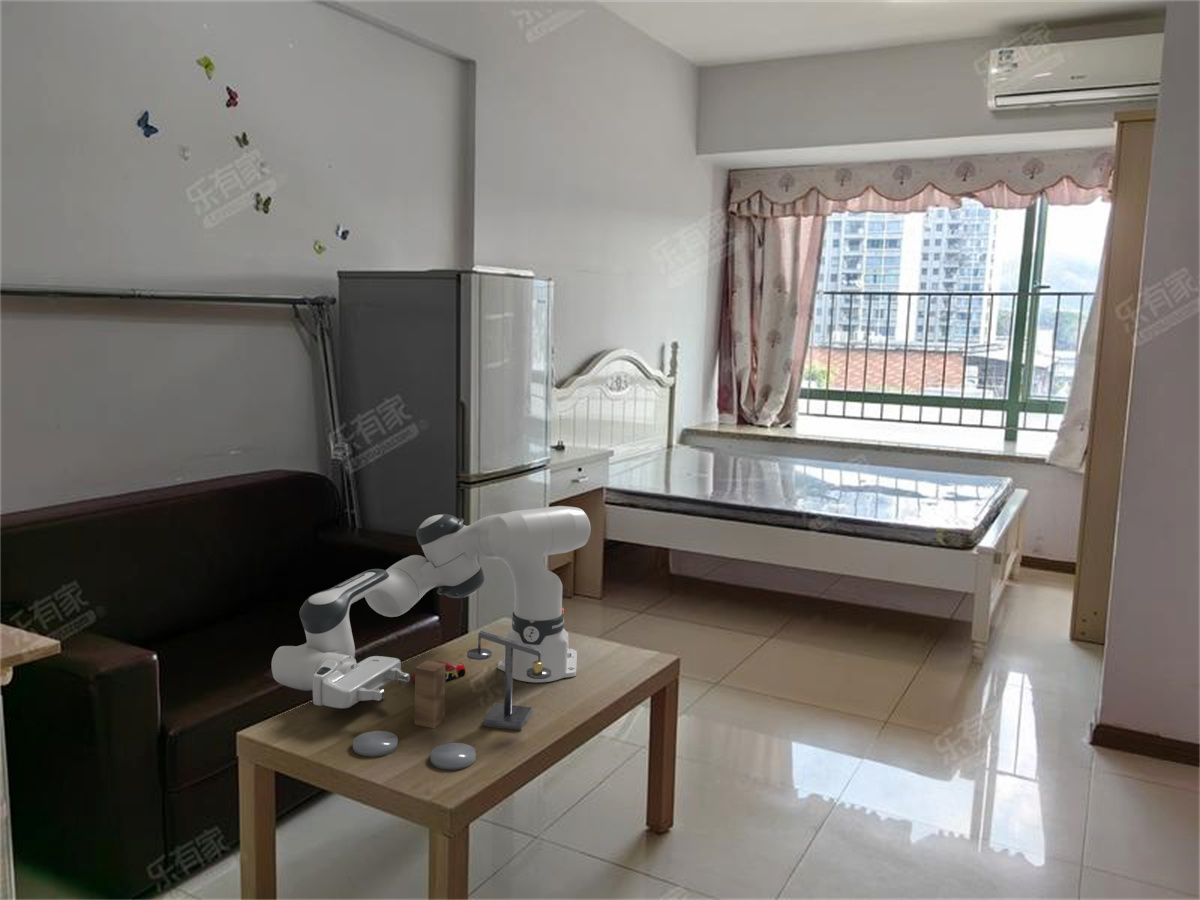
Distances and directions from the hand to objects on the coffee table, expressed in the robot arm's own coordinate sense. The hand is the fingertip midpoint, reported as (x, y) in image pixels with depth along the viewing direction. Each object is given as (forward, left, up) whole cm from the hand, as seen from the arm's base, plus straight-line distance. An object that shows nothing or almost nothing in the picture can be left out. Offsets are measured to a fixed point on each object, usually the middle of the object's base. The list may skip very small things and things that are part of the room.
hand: (395, 687), depth 193 cm
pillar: (+1, +8, -6) cm, 10 cm away
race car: (-21, +2, -7) cm, 22 cm away
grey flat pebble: (+15, +18, -6) cm, 24 cm away
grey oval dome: (+14, +2, -6) cm, 16 cm away
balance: (-4, +23, -6) cm, 24 cm away
